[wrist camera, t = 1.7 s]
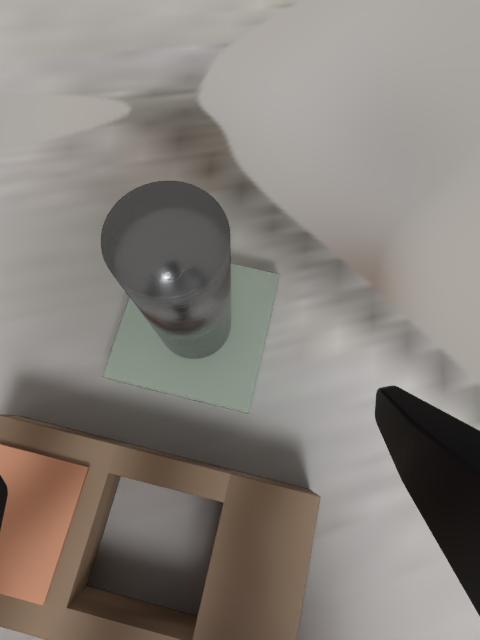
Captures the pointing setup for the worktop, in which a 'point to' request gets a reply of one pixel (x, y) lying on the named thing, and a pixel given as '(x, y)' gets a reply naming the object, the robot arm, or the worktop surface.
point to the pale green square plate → (205, 373)
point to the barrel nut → (173, 263)
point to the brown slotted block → (89, 523)
